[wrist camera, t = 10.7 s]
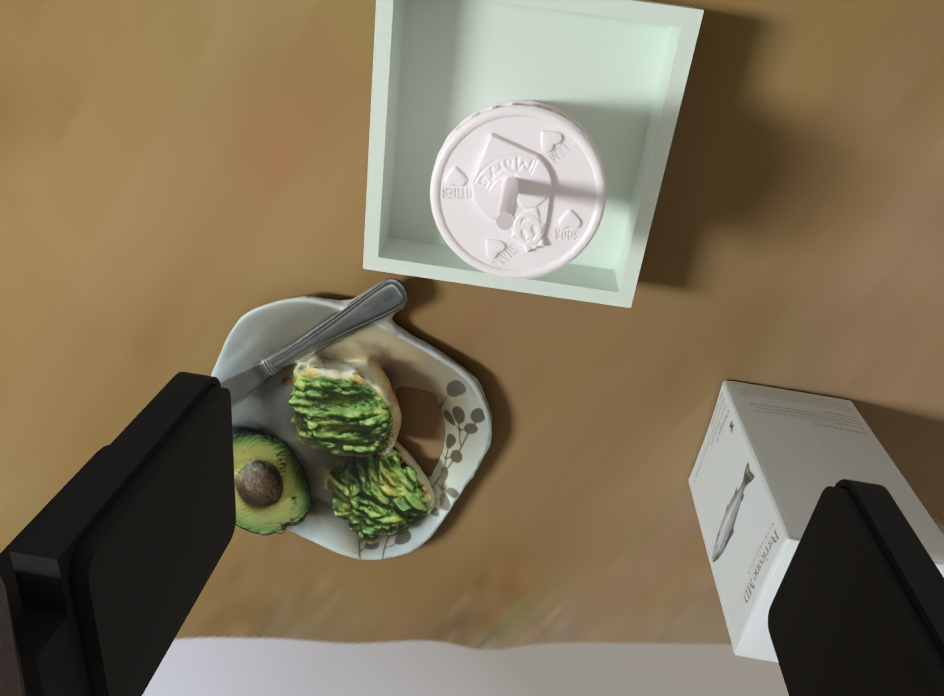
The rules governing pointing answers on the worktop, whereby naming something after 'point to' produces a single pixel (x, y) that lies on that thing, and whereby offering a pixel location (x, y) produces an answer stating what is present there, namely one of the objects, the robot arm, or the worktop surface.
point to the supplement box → (781, 493)
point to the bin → (524, 78)
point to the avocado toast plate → (344, 424)
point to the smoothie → (518, 189)
